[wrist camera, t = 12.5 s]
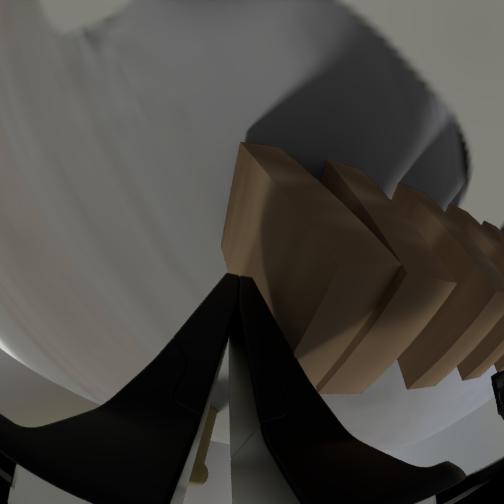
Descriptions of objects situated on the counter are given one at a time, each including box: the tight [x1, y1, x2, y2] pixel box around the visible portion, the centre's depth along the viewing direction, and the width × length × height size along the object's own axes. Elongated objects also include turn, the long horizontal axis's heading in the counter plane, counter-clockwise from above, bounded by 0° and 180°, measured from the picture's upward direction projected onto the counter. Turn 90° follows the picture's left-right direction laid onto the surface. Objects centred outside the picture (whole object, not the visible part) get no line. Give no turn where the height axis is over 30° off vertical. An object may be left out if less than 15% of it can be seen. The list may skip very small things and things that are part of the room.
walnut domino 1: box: [221, 142, 402, 387], centre depth 11 cm, size 2×6×9 cm, turn 168°
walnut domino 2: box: [316, 160, 457, 394], centre depth 11 cm, size 2×6×9 cm, turn 168°
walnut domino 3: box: [391, 183, 504, 390], centre depth 12 cm, size 2×6×9 cm, turn 168°
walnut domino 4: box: [445, 204, 504, 381], centre depth 12 cm, size 2×6×9 cm, turn 168°
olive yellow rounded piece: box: [188, 406, 217, 485], centre depth 27 cm, size 6×6×11 cm
